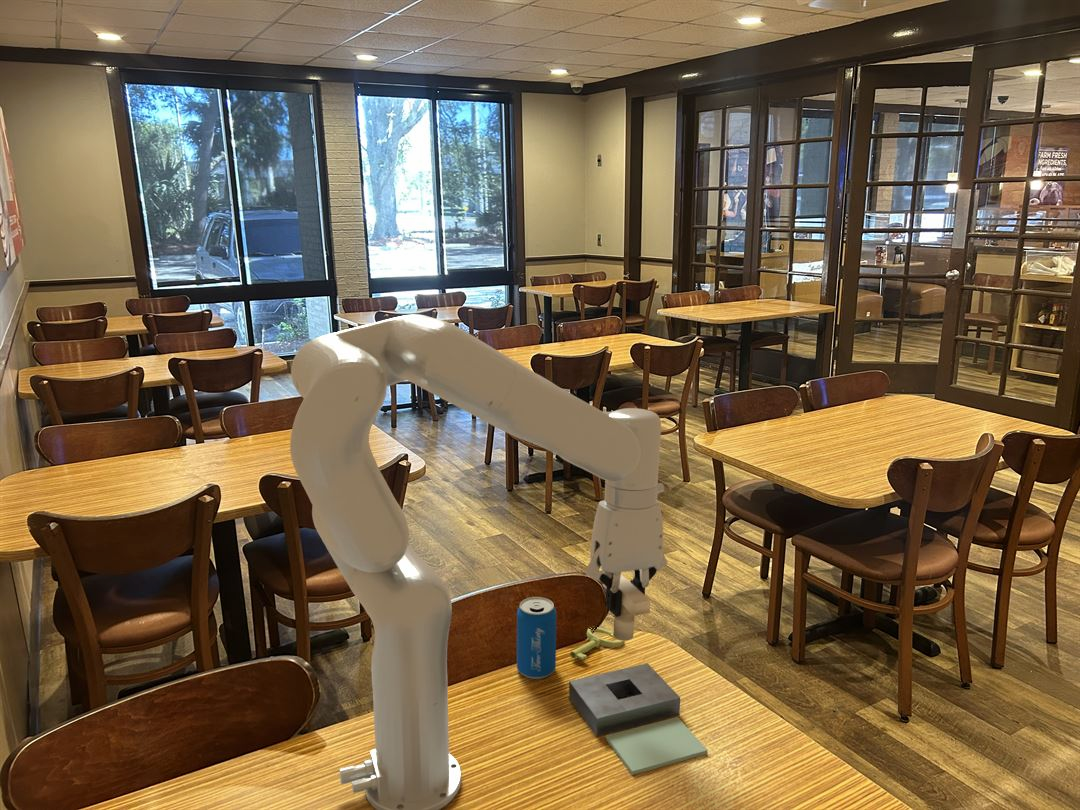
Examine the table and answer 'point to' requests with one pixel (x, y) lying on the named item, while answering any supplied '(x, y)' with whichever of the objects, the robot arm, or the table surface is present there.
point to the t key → (629, 609)
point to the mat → (655, 745)
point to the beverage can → (536, 637)
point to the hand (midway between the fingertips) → (624, 609)
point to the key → (595, 643)
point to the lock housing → (641, 707)
